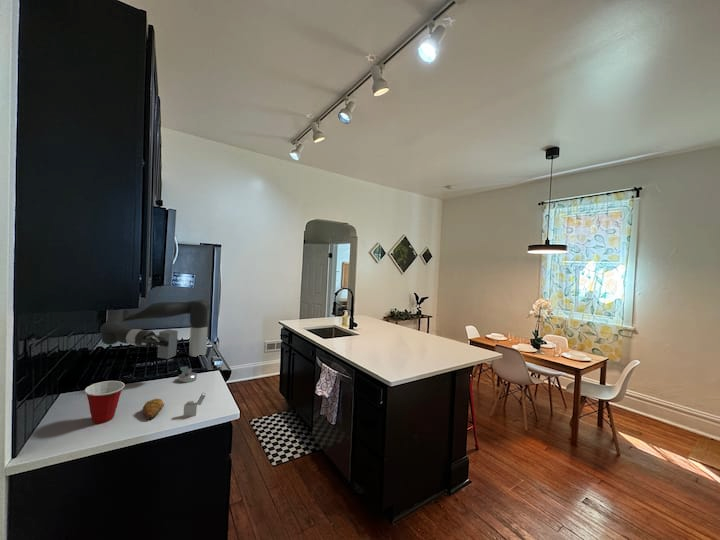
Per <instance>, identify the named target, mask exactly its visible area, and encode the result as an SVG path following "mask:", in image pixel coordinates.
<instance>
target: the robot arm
mask: <svg viewBox="0 0 720 540" xmlns="http://www.w3.org/2000/svg"><path fill="white" fill-rule="evenodd" d="M210 309H211V305H210V302H208V300H204V299H198V300H197V299H196V300H191V301H183V302H182V301H162V302H160V301H159V302H154V303H152V304H150V305H148V306H147V307H145V308H143V309H141V310H140V311H137V312H131V311H130V310H131V309H129V310H107V311H108V315H107V318H106V321H105V322H104V323H103V324H102V325H101V326H100V328H99V329H100V330H99V331H100V337H101V342H102V343H103V344H105V345H109V346H111V345H114V344H116V343H118V342H119V343H121V344H126V345H127V344H128V345H132V346H135V347H142V348H143V347H144V348H156V347H158V346H165V347H168V346H169V342H166V341H160V340H159V334H156V333H155V332H154V331H153V330H145V329H140V328H139V329H138V328H137V329H135V328H129V327H126V326H125V325H124V322H129V321H137V320H145V319H146V320H147V319H164V318H171V317H177V316H182V315H187V314H189V323H190V333H189V349H188V350H189V351H188V356H189V357H192V358H193V357H194V358H196V357H197V356H198V357H200V356H199V355H202V356H201V357H204V356H205V355H207V347H208V346H207V345H208V343H207V342H208V327H209V321H208V312H209V311H210ZM178 343H179V338H177V344H178Z"/></svg>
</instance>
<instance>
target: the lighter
mask: <svg viewBox="0 0 720 540" xmlns="http://www.w3.org/2000/svg"><path fill="white" fill-rule="evenodd" d="M206 396H207V393H206V392H202V393H201V395H200V397H199V398H198V400H197V402H195V401H194V400H189V401H187V402H186V403H184V405H183V417H182V418H188V417H189V418H190V417H195V416H196V415H197V411H198V410H197V408H198V406H201V405H202V403H203V401H204V399H206Z"/></svg>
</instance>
